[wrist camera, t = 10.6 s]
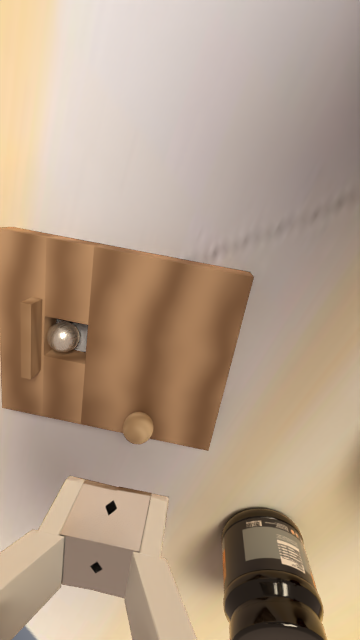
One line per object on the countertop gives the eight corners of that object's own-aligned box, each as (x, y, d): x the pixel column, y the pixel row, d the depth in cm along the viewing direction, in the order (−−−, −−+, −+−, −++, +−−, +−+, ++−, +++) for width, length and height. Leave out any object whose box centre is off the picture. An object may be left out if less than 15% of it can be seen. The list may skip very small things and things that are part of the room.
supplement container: (227, 561, 43) (233, 685, 31) (214, 506, 39) (216, 622, 28) (303, 558, 41) (339, 687, 30) (296, 500, 38) (334, 621, 26)
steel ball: (58, 331, 29) (40, 320, 30) (58, 360, 30) (40, 348, 31) (86, 324, 31) (68, 315, 33) (85, 352, 32) (67, 341, 34)
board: (250, 272, 29) (257, 281, 25) (208, 435, 36) (208, 464, 31) (13, 226, 30) (-20, 228, 25) (15, 395, 36) (-10, 418, 32)
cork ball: (157, 409, 32) (152, 428, 29) (153, 432, 33) (148, 454, 30) (129, 402, 32) (120, 422, 29) (125, 426, 33) (117, 447, 30)
